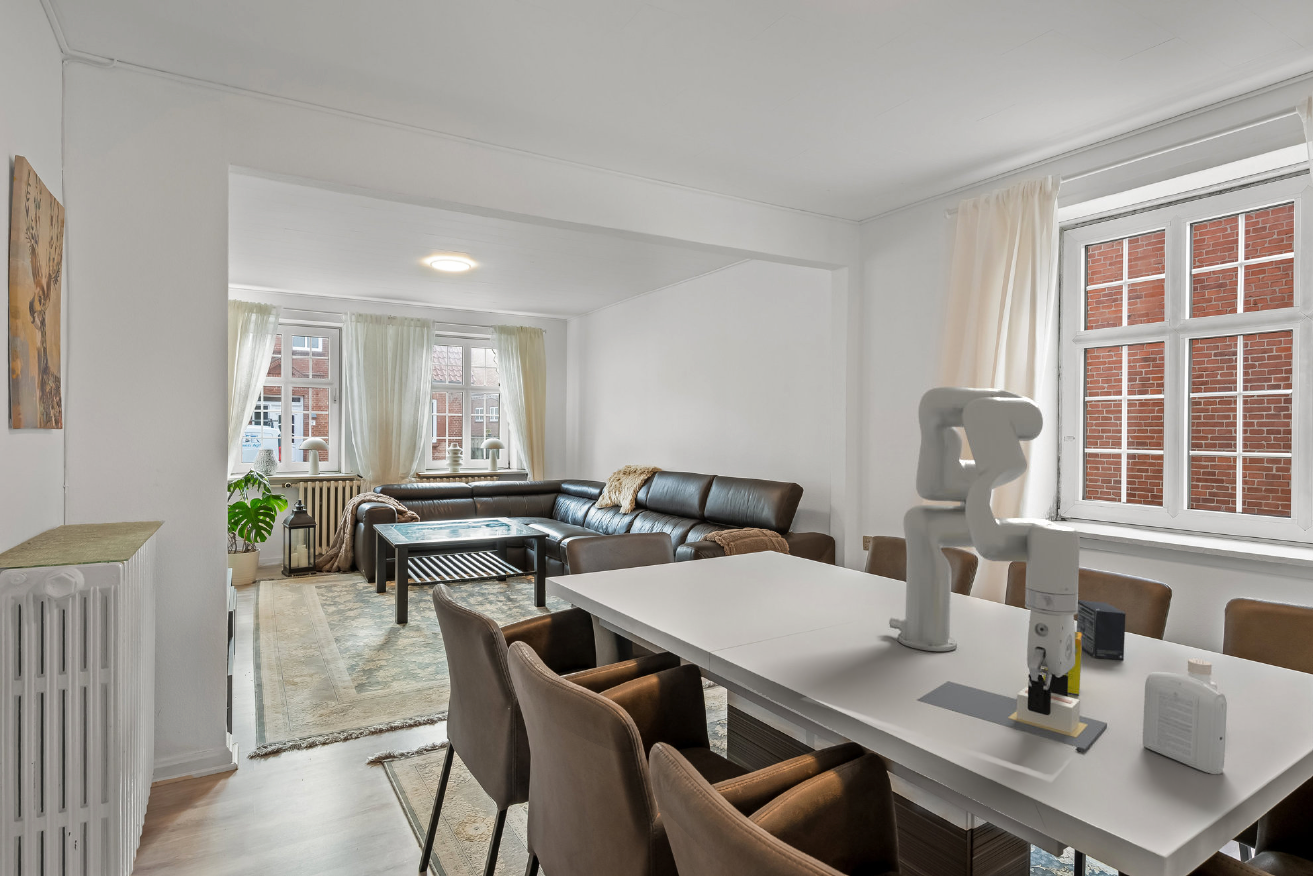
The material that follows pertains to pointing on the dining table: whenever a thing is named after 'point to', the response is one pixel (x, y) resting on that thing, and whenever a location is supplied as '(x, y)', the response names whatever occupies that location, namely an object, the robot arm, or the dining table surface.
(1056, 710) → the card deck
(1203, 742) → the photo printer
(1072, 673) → the supplement box
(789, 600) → the dining table surface
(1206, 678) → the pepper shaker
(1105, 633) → the small box
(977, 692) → the mat
